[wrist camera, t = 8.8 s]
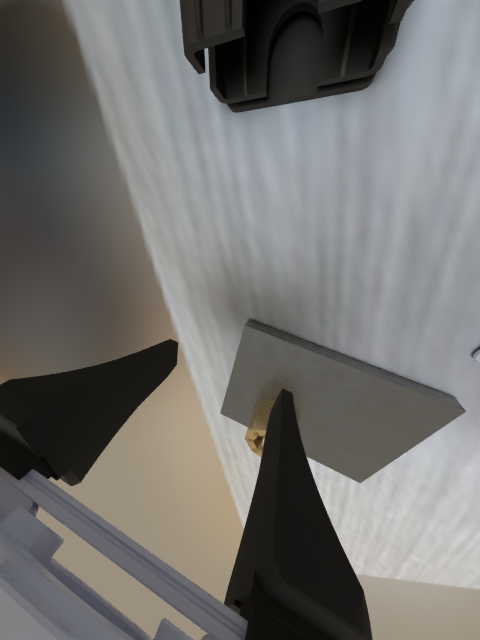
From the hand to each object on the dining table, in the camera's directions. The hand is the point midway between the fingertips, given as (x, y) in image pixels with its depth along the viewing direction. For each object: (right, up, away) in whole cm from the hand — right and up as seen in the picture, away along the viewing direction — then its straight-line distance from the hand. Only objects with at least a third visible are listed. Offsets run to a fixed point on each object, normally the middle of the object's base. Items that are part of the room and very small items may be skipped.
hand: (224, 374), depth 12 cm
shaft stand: (+9, -7, +11) cm, 16 cm away
